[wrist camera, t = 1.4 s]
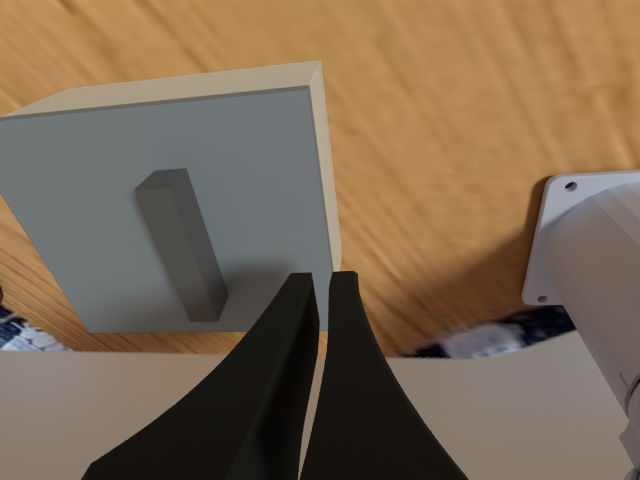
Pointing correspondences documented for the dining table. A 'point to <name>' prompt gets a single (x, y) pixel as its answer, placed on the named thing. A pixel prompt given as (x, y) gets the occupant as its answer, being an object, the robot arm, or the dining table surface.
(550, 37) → the dining table surface
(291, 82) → the box
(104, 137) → the lid
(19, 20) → the dining table surface
